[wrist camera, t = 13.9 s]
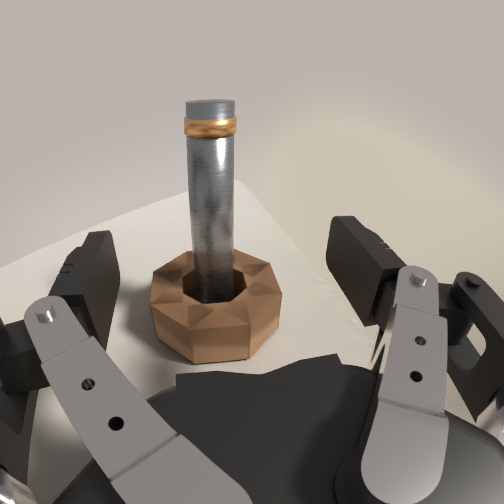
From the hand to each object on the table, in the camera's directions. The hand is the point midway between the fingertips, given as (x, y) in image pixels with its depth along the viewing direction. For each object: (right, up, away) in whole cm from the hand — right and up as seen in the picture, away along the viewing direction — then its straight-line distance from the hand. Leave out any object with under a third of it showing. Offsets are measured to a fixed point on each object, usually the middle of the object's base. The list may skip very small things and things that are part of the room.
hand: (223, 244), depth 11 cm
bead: (-1, -5, +11) cm, 12 cm away
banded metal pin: (-1, -5, +11) cm, 12 cm away
